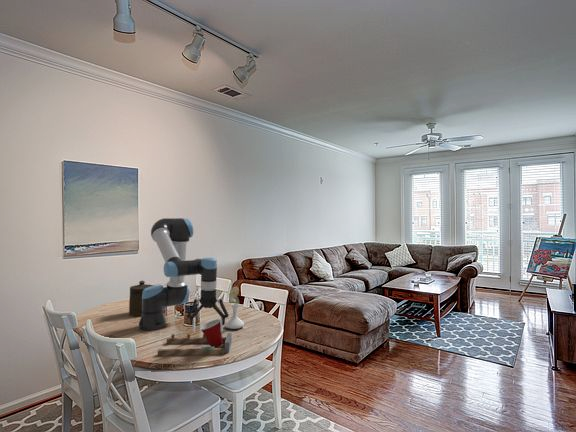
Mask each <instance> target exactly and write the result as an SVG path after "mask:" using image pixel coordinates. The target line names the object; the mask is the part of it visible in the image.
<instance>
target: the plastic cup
mask: <svg viewBox="0 0 576 432" xmlns="http://www.w3.org/2000/svg"><path fill="white" fill-rule="evenodd" d="M220 327H221V318H216V319H212V320H211V321H207V322H206V323H204V324H203V325H202V326H200V327H199V330H200V331H201V332H202V334H204V335H205V337H206V339H207V341H208V342H209V343H208V344H209V347H214V348H221V346H222V345H223V344H224V343H223V341H222V337H223V334H222V332H220Z"/></svg>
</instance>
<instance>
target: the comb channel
mask: <svg viewBox="0 0 576 432" xmlns="http://www.w3.org/2000/svg"><path fill="white" fill-rule="evenodd" d="M175 335H176V334H175V333H172V334H171V335H170V336H171V337H167V338H166V344H167V345H170V344H171V345H176V344H209V342H208V341H207V339H206V337H205V335H204V333H202V337H201V336H200V337H191V333H187V334H186V335H187V336H186V337H176V336H175ZM226 337H227V336H222V341H223V344H225V340H226ZM225 354H226V353H225V347H218V348H214V347H211V346H201V347H200V348H165V349H164V348H163V349H161V348H159V349H157V356H158V357H159V356H160V357H161V356H162V357H164V356H165V357H166V356H170V357H171V356H172V357H173V356H204V355H206V356H209V355H211V356H213V355H225Z"/></svg>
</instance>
